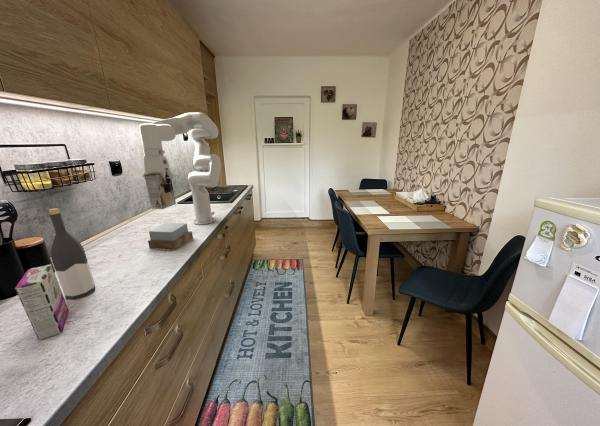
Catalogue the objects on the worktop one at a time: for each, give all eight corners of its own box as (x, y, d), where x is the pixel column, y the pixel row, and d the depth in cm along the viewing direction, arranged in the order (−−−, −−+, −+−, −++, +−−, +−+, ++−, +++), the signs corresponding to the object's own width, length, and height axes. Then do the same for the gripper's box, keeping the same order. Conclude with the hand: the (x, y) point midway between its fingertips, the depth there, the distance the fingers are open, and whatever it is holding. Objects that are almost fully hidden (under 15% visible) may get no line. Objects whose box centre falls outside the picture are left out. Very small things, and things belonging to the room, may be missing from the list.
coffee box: (165, 203, 121) (159, 171, 116) (176, 204, 120) (170, 171, 115) (150, 208, 112) (143, 174, 108) (162, 209, 111) (156, 174, 106)
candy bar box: (47, 317, 71) (27, 268, 67) (69, 310, 74) (52, 263, 69) (36, 342, 63) (13, 287, 58) (62, 333, 65) (42, 280, 61)
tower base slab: (169, 237, 130) (168, 230, 128) (193, 239, 127) (192, 231, 126) (149, 249, 117) (147, 240, 115) (175, 251, 114) (173, 242, 113)
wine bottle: (90, 283, 88) (65, 204, 79) (100, 290, 84) (75, 207, 75) (61, 295, 81) (30, 210, 73) (70, 303, 77) (39, 214, 69)
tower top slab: (167, 230, 127) (165, 222, 126) (188, 231, 126) (186, 223, 124) (150, 240, 116) (148, 231, 115) (173, 240, 114) (171, 232, 113)
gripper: (176, 152, 110) (182, 190, 116) (144, 152, 114) (151, 190, 119) (164, 153, 103) (172, 194, 109) (130, 153, 107) (139, 193, 112)
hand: (161, 191), depth 114 cm, fingers closed on coffee box, 6 cm apart
